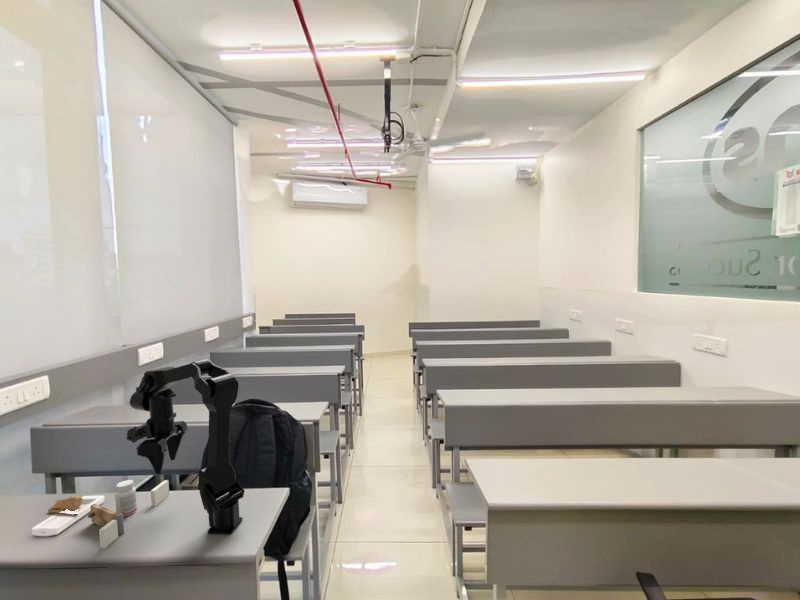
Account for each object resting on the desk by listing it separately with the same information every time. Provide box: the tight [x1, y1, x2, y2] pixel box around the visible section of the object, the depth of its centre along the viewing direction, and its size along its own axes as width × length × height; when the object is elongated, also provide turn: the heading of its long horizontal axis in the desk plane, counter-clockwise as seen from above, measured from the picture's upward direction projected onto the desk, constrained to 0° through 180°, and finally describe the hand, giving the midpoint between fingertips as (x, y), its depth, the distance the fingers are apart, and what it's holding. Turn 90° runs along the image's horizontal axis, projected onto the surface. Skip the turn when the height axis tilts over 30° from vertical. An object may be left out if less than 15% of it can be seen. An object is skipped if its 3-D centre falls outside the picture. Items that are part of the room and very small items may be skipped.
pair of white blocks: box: [98, 479, 170, 549], centre depth 112 cm, size 2×24×5 cm, turn 175°
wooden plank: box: [87, 503, 117, 528], centre depth 108 cm, size 10×2×5 cm, turn 63°
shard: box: [47, 495, 84, 514], centre depth 118 cm, size 11×8×2 cm
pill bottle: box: [114, 479, 138, 518], centre depth 115 cm, size 5×5×8 cm
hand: (166, 466), depth 118 cm, fingers open, 9 cm apart
